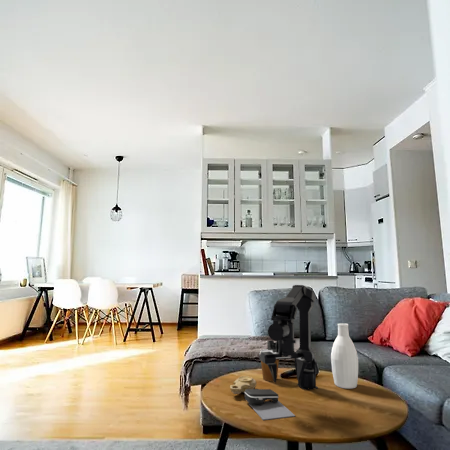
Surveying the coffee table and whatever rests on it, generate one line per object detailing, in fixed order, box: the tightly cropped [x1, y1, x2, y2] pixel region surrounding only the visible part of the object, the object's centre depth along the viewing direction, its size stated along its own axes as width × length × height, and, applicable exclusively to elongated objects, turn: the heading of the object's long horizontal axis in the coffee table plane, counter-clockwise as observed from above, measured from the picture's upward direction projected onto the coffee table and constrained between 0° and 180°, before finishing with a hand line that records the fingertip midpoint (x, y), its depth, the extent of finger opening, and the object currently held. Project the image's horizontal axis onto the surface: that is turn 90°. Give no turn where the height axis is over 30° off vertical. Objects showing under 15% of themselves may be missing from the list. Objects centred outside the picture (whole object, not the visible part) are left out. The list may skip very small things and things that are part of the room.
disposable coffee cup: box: [259, 348, 280, 382], centre depth 151 cm, size 10×10×12 cm
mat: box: [248, 400, 296, 421], centre depth 117 cm, size 12×14×1 cm
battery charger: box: [244, 388, 280, 405], centre depth 123 cm, size 7×4×11 cm
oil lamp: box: [229, 375, 257, 395], centre depth 134 cm, size 11×14×5 cm
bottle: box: [330, 322, 359, 390], centre depth 144 cm, size 11×11×25 cm
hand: (286, 381), depth 119 cm, fingers open, 9 cm apart
